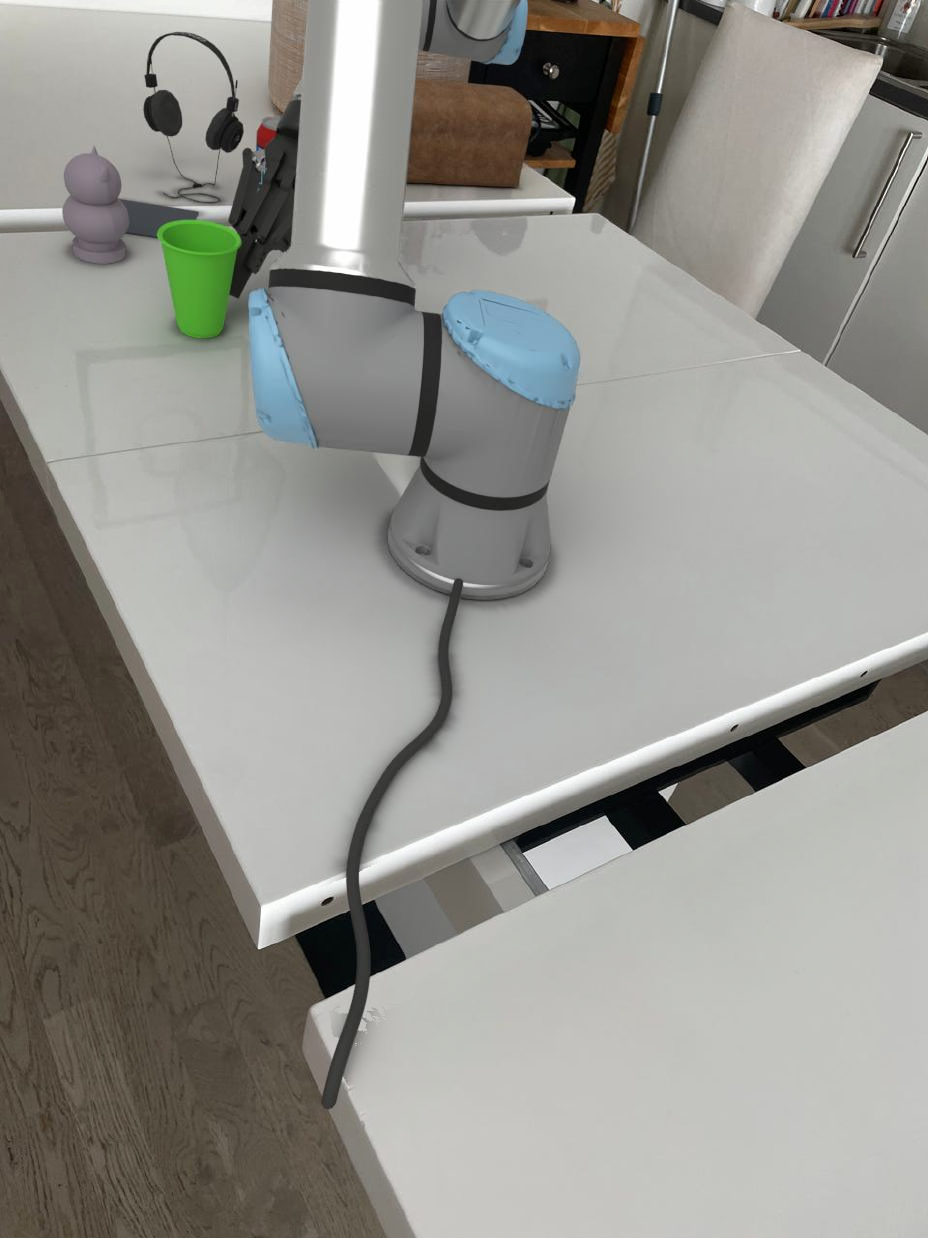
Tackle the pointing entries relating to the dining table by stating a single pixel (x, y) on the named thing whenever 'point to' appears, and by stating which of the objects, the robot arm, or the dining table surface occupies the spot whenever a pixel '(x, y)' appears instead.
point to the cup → (199, 273)
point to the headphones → (168, 117)
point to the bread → (468, 134)
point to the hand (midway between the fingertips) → (228, 290)
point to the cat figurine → (95, 209)
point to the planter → (291, 46)
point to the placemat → (153, 217)
